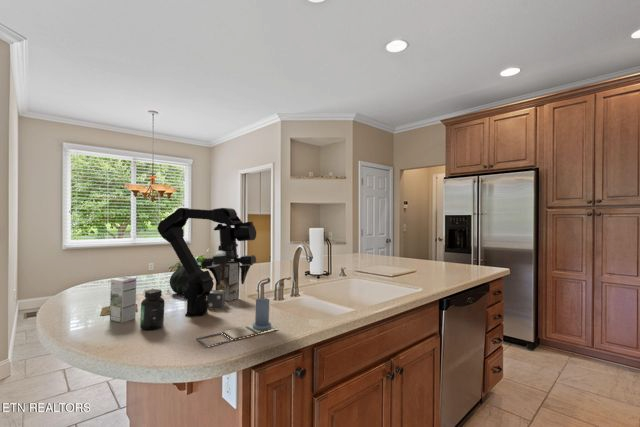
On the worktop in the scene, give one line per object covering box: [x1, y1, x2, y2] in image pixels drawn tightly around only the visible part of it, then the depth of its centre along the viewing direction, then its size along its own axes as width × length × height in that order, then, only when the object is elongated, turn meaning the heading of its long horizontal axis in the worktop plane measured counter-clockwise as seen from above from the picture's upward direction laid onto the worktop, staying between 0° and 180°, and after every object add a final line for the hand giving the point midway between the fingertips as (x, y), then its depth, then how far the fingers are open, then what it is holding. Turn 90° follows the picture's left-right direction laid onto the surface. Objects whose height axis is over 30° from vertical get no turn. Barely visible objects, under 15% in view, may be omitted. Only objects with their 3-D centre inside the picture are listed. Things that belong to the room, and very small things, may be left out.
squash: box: [169, 266, 189, 295], centre depth 151 cm, size 14×15×15 cm
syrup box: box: [109, 276, 137, 324], centre depth 112 cm, size 6×6×14 cm
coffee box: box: [215, 263, 241, 302], centre depth 145 cm, size 9×6×16 cm
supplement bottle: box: [139, 289, 165, 332], centre depth 105 cm, size 7×7×12 cm
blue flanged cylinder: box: [252, 297, 272, 330], centre depth 107 cm, size 6×6×9 cm
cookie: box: [99, 304, 138, 317], centre depth 123 cm, size 12×12×1 cm
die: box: [206, 289, 226, 309], centre depth 131 cm, size 6×6×6 cm
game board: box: [195, 324, 277, 348], centre depth 101 cm, size 24×8×1 cm, turn 131°
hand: (230, 284), depth 118 cm, fingers open, 9 cm apart
